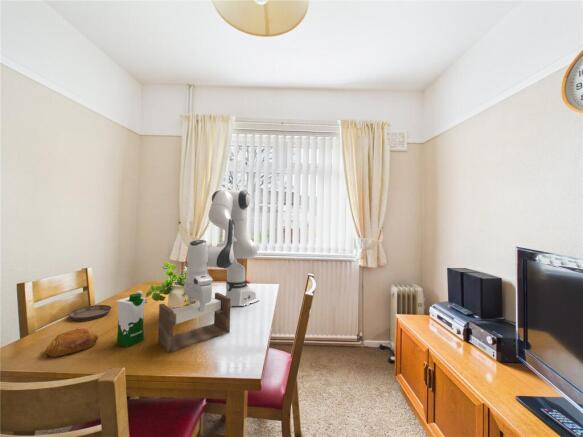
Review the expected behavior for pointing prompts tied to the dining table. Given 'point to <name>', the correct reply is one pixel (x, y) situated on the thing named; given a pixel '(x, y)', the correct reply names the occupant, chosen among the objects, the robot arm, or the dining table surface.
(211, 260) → the robot arm
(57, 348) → the croissant
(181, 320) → the shelf board
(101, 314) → the plant saucer
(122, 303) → the milk carton
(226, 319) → the shelf frame
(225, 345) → the dining table surface
